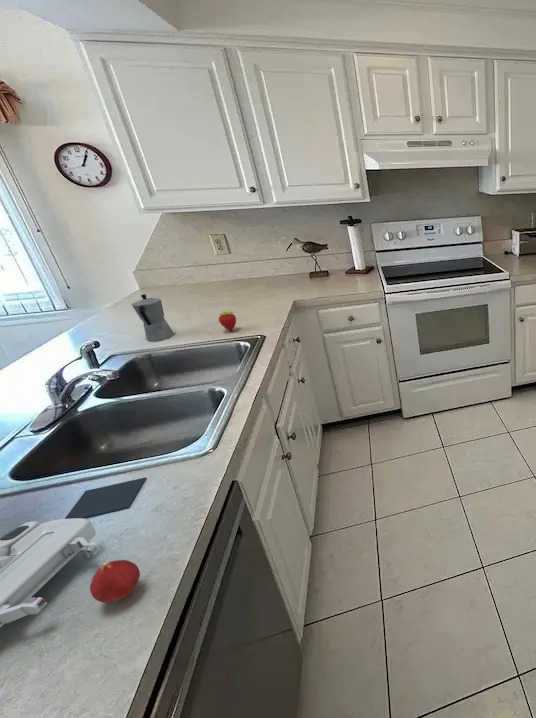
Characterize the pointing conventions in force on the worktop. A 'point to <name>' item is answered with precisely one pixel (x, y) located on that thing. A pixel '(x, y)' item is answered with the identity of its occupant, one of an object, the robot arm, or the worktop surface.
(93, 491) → the pad
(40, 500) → the worktop surface
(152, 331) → the coffeepot
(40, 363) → the worktop surface
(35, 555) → the robot arm
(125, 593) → the red oval piece
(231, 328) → the strawberry
